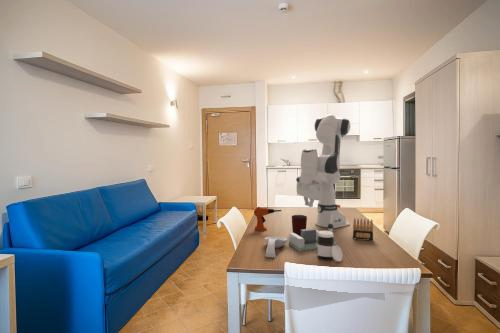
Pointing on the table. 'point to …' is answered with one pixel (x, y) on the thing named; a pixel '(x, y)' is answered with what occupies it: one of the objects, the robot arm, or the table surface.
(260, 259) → the table surface
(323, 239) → the spread jar
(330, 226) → the sliding jaw
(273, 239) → the spoon rest
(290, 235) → the vise
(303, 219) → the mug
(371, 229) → the ammunition clip
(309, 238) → the steel block
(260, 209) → the toy drill
